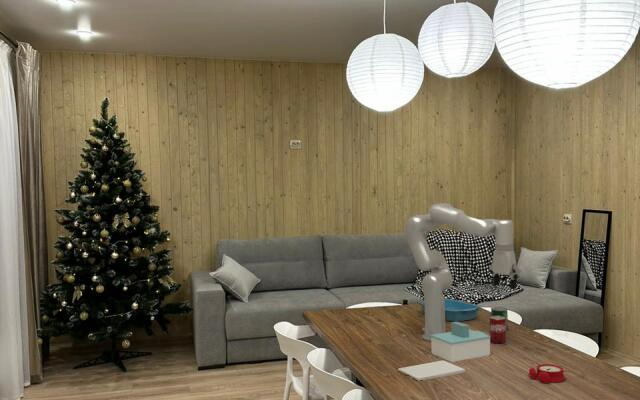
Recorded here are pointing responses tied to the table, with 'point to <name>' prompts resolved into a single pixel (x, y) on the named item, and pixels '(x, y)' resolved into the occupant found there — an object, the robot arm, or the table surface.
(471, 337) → the lid
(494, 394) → the table surface
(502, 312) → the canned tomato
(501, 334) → the soda can
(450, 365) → the mat
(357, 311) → the table surface
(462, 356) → the tub
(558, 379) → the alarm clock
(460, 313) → the casserole dish
